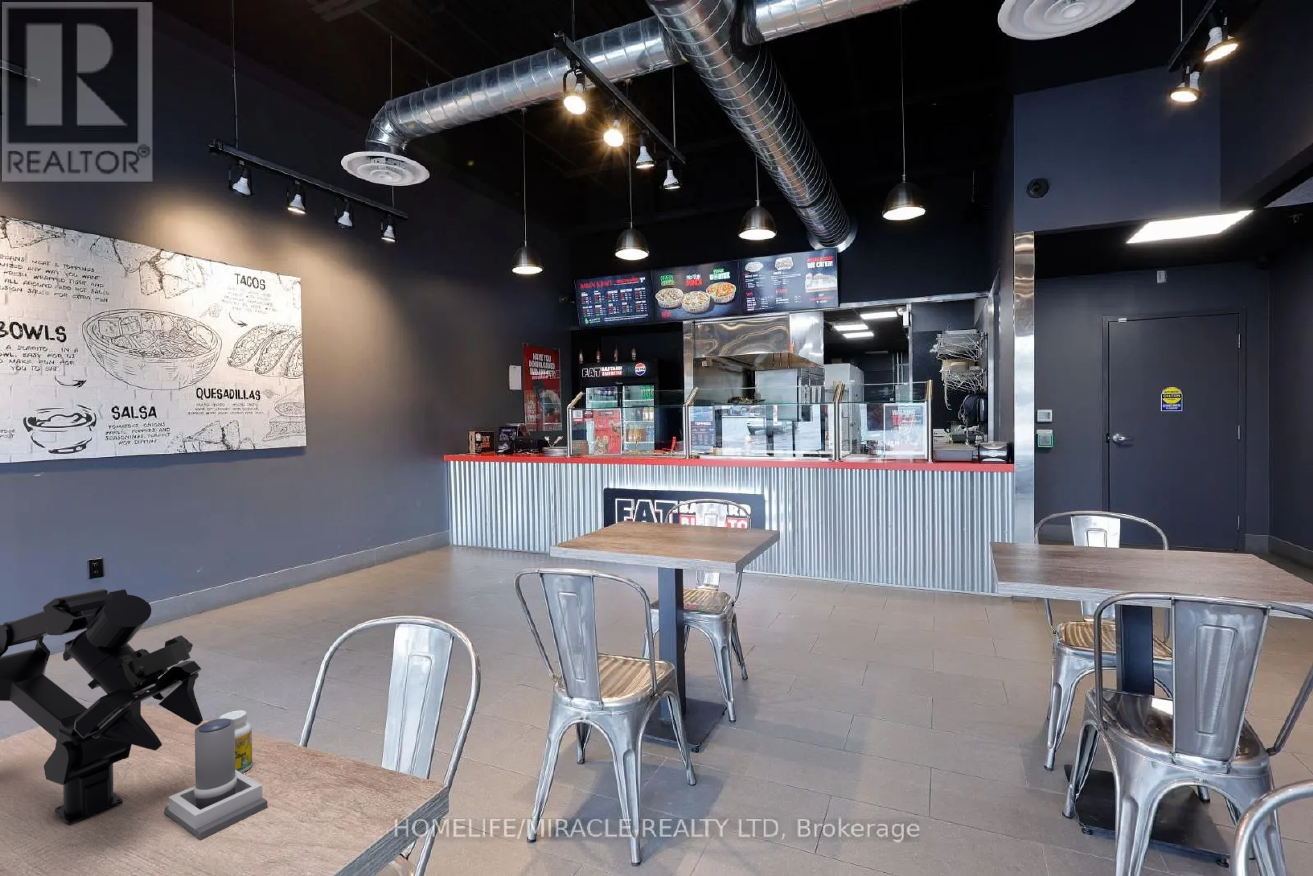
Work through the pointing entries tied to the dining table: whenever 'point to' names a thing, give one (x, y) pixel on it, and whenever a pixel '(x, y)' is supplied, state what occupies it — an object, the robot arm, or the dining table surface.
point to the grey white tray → (216, 808)
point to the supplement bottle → (241, 740)
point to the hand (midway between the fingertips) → (180, 735)
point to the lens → (214, 762)
